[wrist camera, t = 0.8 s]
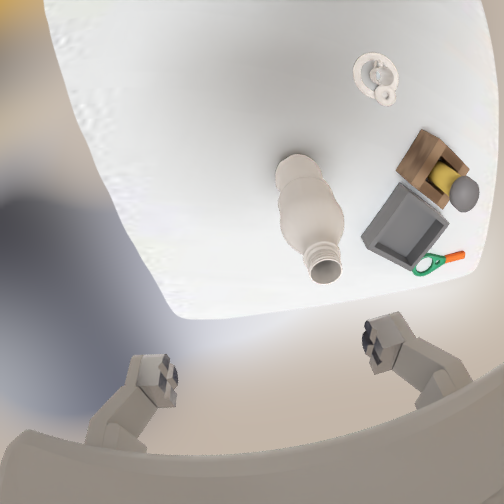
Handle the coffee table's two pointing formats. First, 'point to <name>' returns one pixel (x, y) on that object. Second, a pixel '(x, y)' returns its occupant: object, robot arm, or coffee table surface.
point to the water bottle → (310, 217)
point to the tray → (404, 228)
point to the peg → (455, 186)
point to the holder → (429, 165)
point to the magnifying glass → (441, 261)
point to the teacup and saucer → (386, 81)
